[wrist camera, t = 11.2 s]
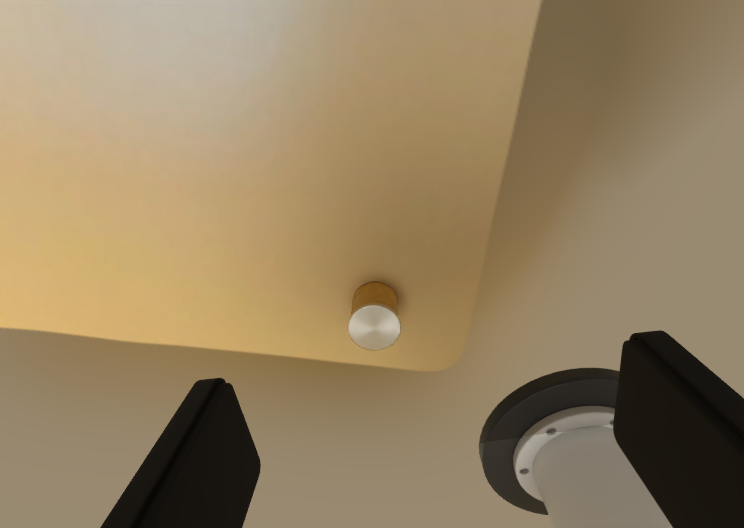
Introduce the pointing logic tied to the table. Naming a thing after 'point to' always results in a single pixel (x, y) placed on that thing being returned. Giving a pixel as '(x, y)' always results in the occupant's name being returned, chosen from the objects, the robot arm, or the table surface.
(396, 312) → the coffee pod
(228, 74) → the table surface
